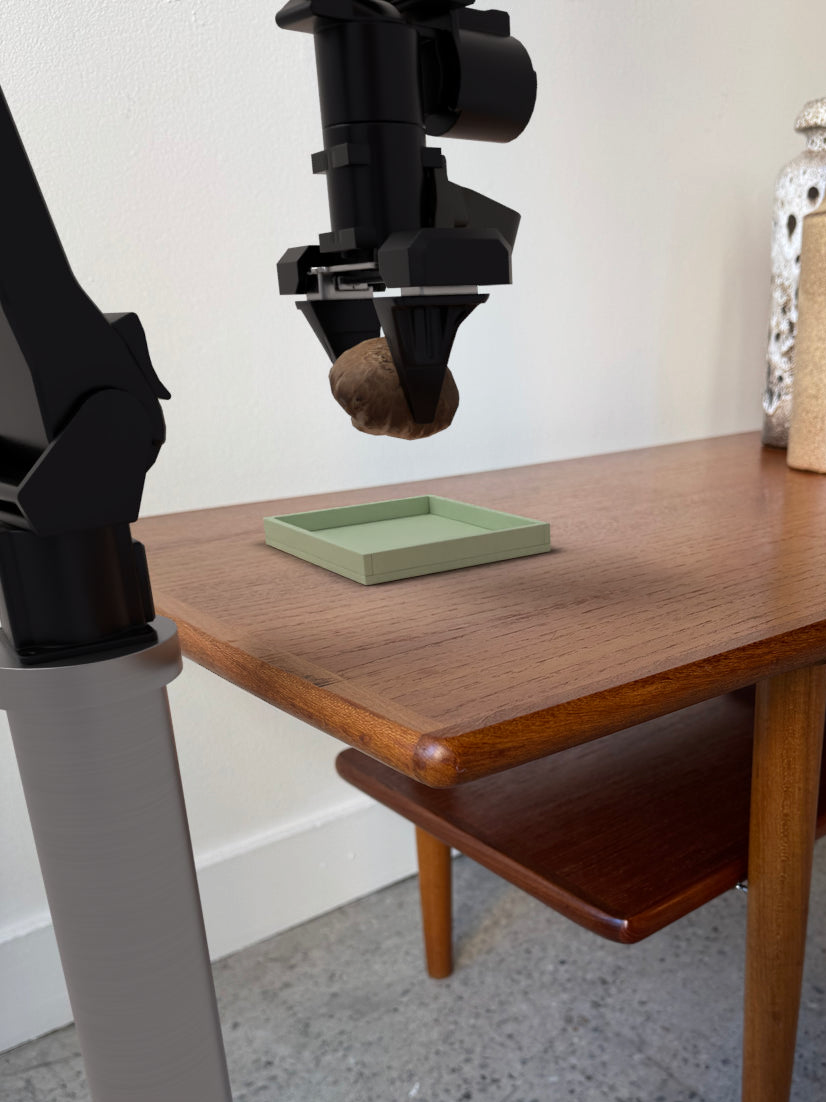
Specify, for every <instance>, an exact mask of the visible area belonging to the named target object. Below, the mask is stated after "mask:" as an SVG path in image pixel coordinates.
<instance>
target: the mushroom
mask: <svg viewBox="0 0 826 1102" xmlns="http://www.w3.org/2000/svg"><path fill="white" fill-rule="evenodd" d="M328 382H329V387H330V392H331V394H332V397H333V399H334V400H335V401H336V402H337V404H338V405H339V406H340V407H341V409H343V411H344V412H345V413H346V414H347V415H348V416H349V417H350V421H351V426H352V427H353V428H355V430H357V431H358V432H361V433H364V434H366V435H371V436H375V437H380V436H386V437H391V438H394V439H395V438H396V439H399V440H400V439H401V440H406V441H415V440H416V441H417V440H421V439H426V438H430V437H432V436H434V435H436V434H438V433H440V432H443V431H445V430H447V429H448V428H449V427H450V426H452V423H453V421H454V418H455V415H456V414H457V411H458V408H459V406H460V399H461V398H460V390H459V388H458V386H457V383H456V381H455V378H454V375H453V373H452V370H451V369H450V367H449V366H448V365H447V370H446V374H445V378H444V382H443V386H442V391H441V395H440V399H439V403H438V407H437V412H436V416H435V420H434V422H433V423H431V424H424V425H418V424H416V423H415V422H414V419H413V417H412V414H411V412H410V409H409V407H408V404H407V401H406V399H405V396H404V393H403V390H402V387H401V384H400V381H399V378H398V375H397V372H396V369H395V366H394V363H393V360H392V357H391V354H390V351H389V347H388V344H387V341H386V338H385V336H380V337H379V338H374V339H370V340H366V341H363V342H361V343H360V344H358V345H356V346H355V347H353V348H351V349H349V350H347V351H345V352H344V353H343V354H342V355H341V356H340V357H339V358H338V359H337V361H336V362H335V363H334V365H333V364H332V366H331V367H330V369H329V371H328Z"/></svg>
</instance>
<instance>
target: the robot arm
mask: <svg viewBox="0 0 826 1102" xmlns="http://www.w3.org/2000/svg"><path fill="white" fill-rule="evenodd" d="M475 3H476V0H288V1H287V2H286V3H285V4H284V5H283V6H282V7H281V9H279V10H278V11H277V12H276V13H275V15H274V22H275V24H276V25H277V27H278V28H279V29H281V30H286V31H290V32H291V31H292V32H297V33H303V34H309V35H313V45H314V46H313V47H314V57H315V67H316V77H317V78H316V79H317V90H318V101H319V102H318V103H319V113H320V124H321V130H322V131H321V135H322V145H323V149H322V150H320V151H317V152H314V153H311V154H310V159H311V169H312V170H311V171H312V175H323V176H324V175H325V178H326V188H327V189H326V191H327V199H328V200H327V201H328V210H329V211H328V212H329V223H330V231H328V232H327V231H326V232H321V233H318V243H319V244H307V245H306V244H305V245H300V246H295V247H293V246H292V247H288V248H287V249H286V250H285V252H284V253H283V254H282V256H281V257H280V258H279V260H277V262H276V275H277V283H278V291H279V292H278V293H279V296H296V295H297V296H298V295H299V296H304V295H305V297H306V300H295V301H294V305H295V307H296V310H299V311H301V313H302V314H303V316H304V318H305V319H306V321H307V323H308V325H309V326H310V328H311V330H312V331H313V333H314V334H315V337H316V338H317V340H318V341H319V343H320V345H321V346H322V348H323V350H324V352H325V353H326V355H327V357H328V359H329V360H330V363H332V366H333V365H334V363H335V362H336V361H337V359H338V358H339V357H340V356H341V355H342V354H343V353H344V352H345V351H347V350H349V349H351V348H353V347H355V346H356V345H358V344H360V343H361V342H363V341H366V340H370V339H374V338H379V337H382V336H381V333H382V332H383V335H384V337H385V338H386V341H387V344H388V347H389V351H390V354H391V357H392V360H393V363H394V366H395V369H396V372H397V375H398V378H399V381H400V384H401V387H402V390H403V393H404V396H405V399H406V401H407V404H408V407H409V409H410V412H411V414H412V417H413V419H414V422H415V423H416V424H418V425H424V424H431V423H433V422H434V420H435V416H436V412H437V407H438V403H439V399H440V395H441V391H442V386H443V382H444V378H445V374H446V370H447V366H448V364H449V361H450V356H451V353H452V350H453V346H454V342H455V340H456V336H457V333H458V330H459V328H460V326H461V324H463V322H464V321H465V320H466V319H467V318H468V317H469V316H470V315H471V314H472V313H473V312H474V311H475V310H476V309H477V307H478V306H480V305H481V304H482V305H483V304H486V303H487V302H488V300H489V298H490V295H491V293H489V292H487V293H479V291H478V290H479V289H478V287H490V286H508V285H509V286H510V285H513V259H512V256H513V252H514V247H515V243H516V240H517V235H518V231H519V227H520V222H521V218H522V215H521V213H519V212H518V211H517V210H515V209H513V208H511V207H509V206H507V205H505V204H503V203H500V202H498V201H497V200H495V199H493V198H491V197H489V196H487V195H485V194H482V193H480V192H478V191H477V190H474V189H472V188H469V187H465V186H463V185H460V184H457V183H455V182H453V181H451V180H449V177H448V167H447V165H448V163H447V158H446V156H445V155H444V154H442V147H439V146H438V147H437V146H436V147H435V146H427V136H428V137H434V138H444V139H452V140H453V139H454V140H464V141H473V142H484V143H493V144H508V143H511V142H512V141H514V140H516V139H518V138H519V137H520V136H521V135H522V134H523V133H524V131H525V130H526V128H527V126H528V125H529V123H530V121H531V118H532V117H533V113H534V111H535V105H536V102H537V97H538V75H537V71H536V70H534V69H535V68H534V65H533V61H532V59H531V56H530V54H529V52H528V50H527V48H526V47H525V45H524V44H523V43H522V42H521V41H520V40H519V39H517V37H515V36H512V35H511V16H510V14H509V12H508V11H505V10H501V9H496V8H490V9H486V10H485V9H484V10H483V9H477V8H473V7H469V6H471V5H474V4H475ZM43 194H44V193H43V191H42V188H41V186H40V184H39V181H38V178H37V176H36V173H35V171H34V168H33V165H32V163H31V160H30V158H29V155H28V153H27V150H26V147H25V145H24V142H23V139H22V137H21V135H20V132H19V129H18V126H17V124H16V121H15V119H14V116H13V114H12V111H11V109H10V106H9V104H8V100H7V98H6V96H5V93H4V90H3V87H2V85H1V84H0V642H1V643H2V644H3V645H4V647H5V648H6V649H7V650H8V651H9V653H10V654H11V655H12V656H13V658H14V659H15V660H16V661H17V663H18V664H19V665H23V666H27V665H34V664H39V663H45V662H50V661H55V660H60V659H65V658H70V657H75V656H81V655H86V654H91V653H96V652H101V651H106V650H111V649H117V648H122V647H127V646H132V645H137V644H142V643H147V642H152V641H155V640H157V639H158V634H157V630H156V629H155V628H153V627H152V626H151V625H149V624H148V623H149V622H153V621H154V619H155V618H156V615H157V614H156V609H155V603H154V596H153V590H152V584H151V576H150V571H149V566H148V559H147V553H146V547H145V544H144V543H143V542H141V541H140V540H138V539H137V538H135V537H133V535H132V530H131V524H134V523H137V521H139V516H140V515H139V514H140V511H141V505H142V498H143V494H144V488H145V483H146V478H147V473H148V472H149V471H150V470H151V468H153V466H154V465H155V463H156V462H157V459H158V456H159V454H160V452H161V449H162V446H163V445H164V444H165V443H166V441H167V424H166V419H165V414H164V409H163V407H162V405H161V402H160V400H161V401H170V400H171V399H172V394H171V392H170V391H169V389H167V387H166V386H165V385H164V383H163V382H162V381H161V379H160V378H159V375H158V373H157V372H156V370H155V368H154V365H153V363H152V359H151V355H150V351H149V345H148V341H147V336H146V331H145V328H144V326H143V324H142V321H141V319H140V317H139V315H138V314H137V313H136V312H135V311H123V312H102V309H100V308H99V306H98V305H97V304H96V303H95V302H94V301H93V299H92V298H91V297H90V295H89V294H88V293H87V292H86V291H85V289H84V288H83V287H82V286H81V283H80V282H79V281H78V278H77V277H76V275H75V273H74V270H73V269H72V267H71V264H70V262H69V259H68V256H67V253H66V251H65V248H64V246H63V243H62V241H61V238H60V235H59V233H58V230H57V227H56V224H55V222H54V220H53V217H52V215H51V211H50V209H49V207H48V205H47V201H46V199H45V197H44V195H43ZM387 289H400V295H396V296H395V295H393V296H374V293H385V292H386V291H387ZM381 331H382V332H381Z"/></svg>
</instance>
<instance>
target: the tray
mask: <svg viewBox="0 0 826 1102" xmlns="http://www.w3.org/2000/svg"><path fill="white" fill-rule="evenodd" d="M262 521H263V522H262V523H263V530H264V538H265V545H267V546H270V547H272V548H275V549H277V550H280V551H282V552H284V553H287V554H289V555H291V556H294V557H296V558H298V559H301V560H303V561H306V562H309V563H310V564H313V565H316V566H318V567H320V568H323V569H325V570H328V571H330V572H331V573H335V574H337V575H339V576H342V577H345V578H347V579H349V580H352V581H354V582H356V583H359V584H361V585H364V586H371V585H376V584H382V583H387V582H392V581H397V580H403V579H409V578H414V577H419V576H426V575H430V574H435V573H441V572H446V571H453V570H456V569H461V568H467V567H473V566H479V565H483V564H489V563H495V562H501V561H505V560H512V559H516V558H520V557H526V556H533V555H537V554H544V553H549V552H551V549H552V548H551V547H552V546H551V523H550V522H547V521H543V520H539V519H534V518H531V517H526V516H522V515H519V514H518V515H517V514H514V513H510V512H506V511H503V510H497V509H493V508H489V507H485V506H481V505H477V504H473V503H469V502H464V501H461V500H456V499H452V498H447V497H444V496H440V495H435V494H431V493H430V494H422V495H416V496H415V495H414V496H408V497H402V498H395V499H387V500H381V501H379V500H378V501H372V502H366V503H358V504H352V505H344V506H337V507H330V508H323V509H315V510H309V511H301V512H295V513H294V512H293V513H287V514H279V515H272V516H265V517H262Z"/></svg>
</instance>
